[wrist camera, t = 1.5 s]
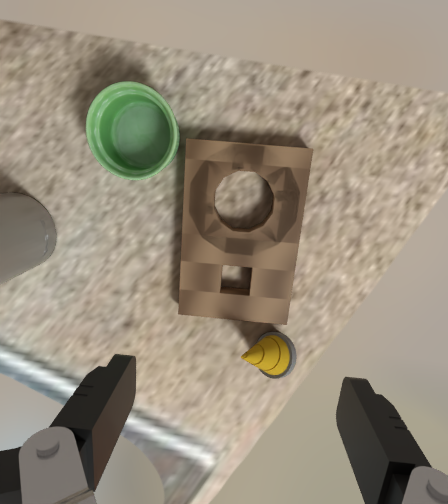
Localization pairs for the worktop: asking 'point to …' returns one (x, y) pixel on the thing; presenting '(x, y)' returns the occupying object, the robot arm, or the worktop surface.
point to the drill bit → (272, 355)
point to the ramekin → (132, 130)
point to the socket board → (241, 232)
